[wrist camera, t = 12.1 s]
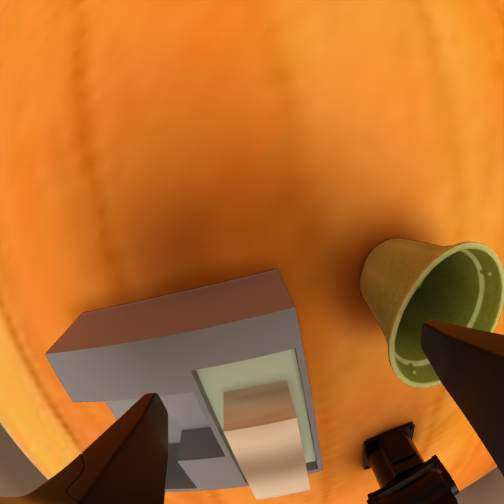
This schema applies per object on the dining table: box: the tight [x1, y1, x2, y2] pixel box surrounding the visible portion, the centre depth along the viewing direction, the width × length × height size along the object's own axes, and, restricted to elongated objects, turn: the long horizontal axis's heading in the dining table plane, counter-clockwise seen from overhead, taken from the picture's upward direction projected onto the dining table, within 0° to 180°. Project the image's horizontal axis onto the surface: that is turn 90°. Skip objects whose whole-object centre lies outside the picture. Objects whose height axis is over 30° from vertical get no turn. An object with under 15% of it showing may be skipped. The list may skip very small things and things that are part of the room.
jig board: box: [45, 269, 323, 492], centre depth 21 cm, size 16×16×6 cm
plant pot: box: [360, 238, 504, 388], centre depth 18 cm, size 9×9×9 cm
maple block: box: [223, 380, 310, 500], centre depth 17 cm, size 9×4×4 cm, turn 12°
